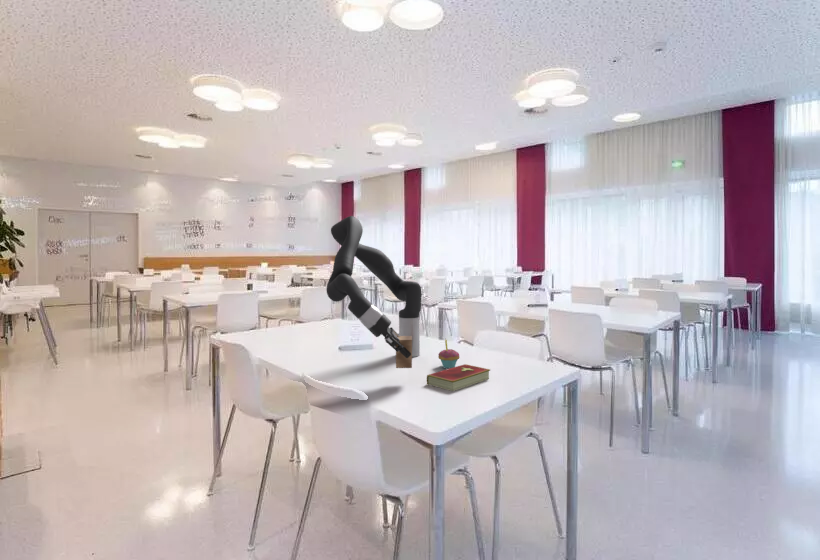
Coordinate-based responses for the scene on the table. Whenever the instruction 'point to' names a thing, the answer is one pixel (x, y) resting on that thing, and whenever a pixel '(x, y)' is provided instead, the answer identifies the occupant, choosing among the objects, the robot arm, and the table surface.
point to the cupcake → (448, 357)
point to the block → (400, 358)
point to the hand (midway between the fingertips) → (408, 353)
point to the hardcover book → (458, 377)
